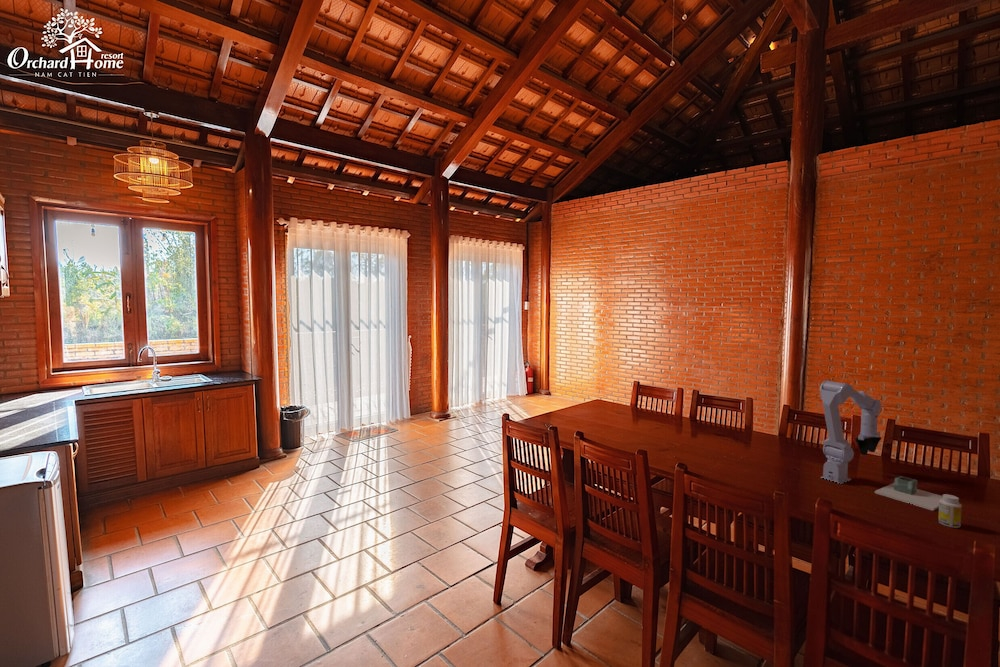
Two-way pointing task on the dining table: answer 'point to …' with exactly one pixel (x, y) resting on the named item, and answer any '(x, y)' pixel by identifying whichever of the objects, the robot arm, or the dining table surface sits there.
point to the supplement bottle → (950, 511)
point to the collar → (905, 485)
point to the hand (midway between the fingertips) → (867, 453)
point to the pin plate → (912, 497)
